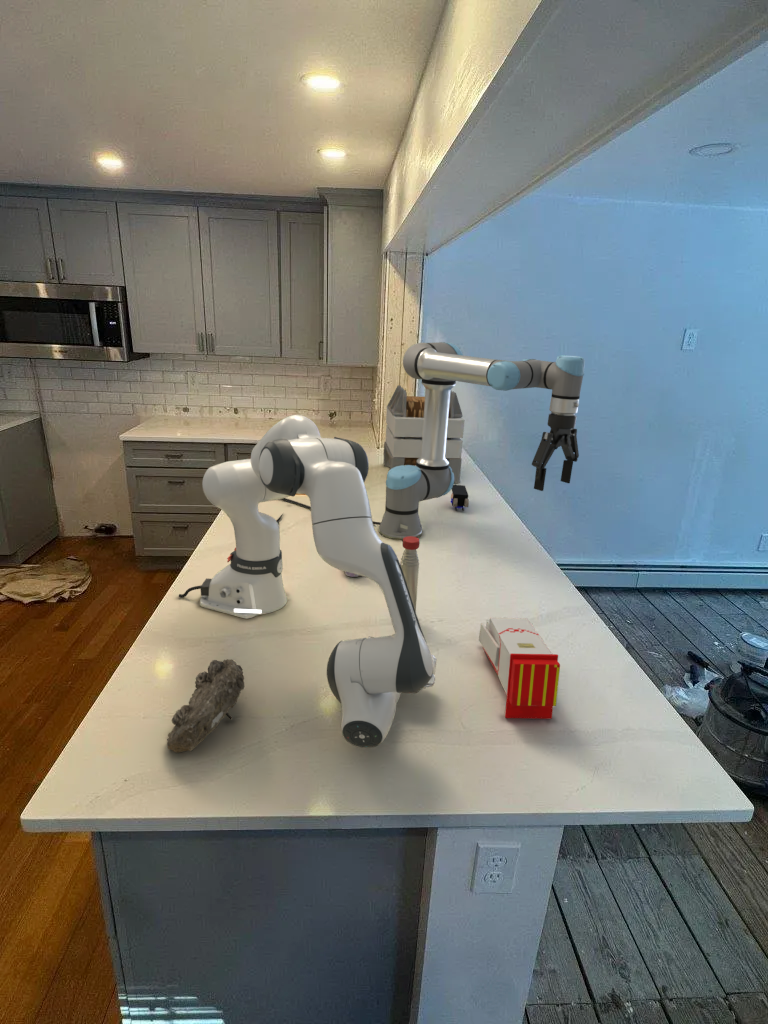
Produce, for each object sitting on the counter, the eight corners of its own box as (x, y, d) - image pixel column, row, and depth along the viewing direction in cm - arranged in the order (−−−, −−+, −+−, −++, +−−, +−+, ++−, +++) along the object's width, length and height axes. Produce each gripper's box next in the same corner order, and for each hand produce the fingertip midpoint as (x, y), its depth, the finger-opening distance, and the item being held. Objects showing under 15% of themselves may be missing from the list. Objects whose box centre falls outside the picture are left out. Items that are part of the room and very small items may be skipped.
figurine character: (468, 516, 224) (463, 500, 237) (471, 498, 221) (465, 483, 234) (452, 515, 224) (447, 499, 237) (453, 498, 220) (449, 482, 234)
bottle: (415, 626, 142) (421, 544, 134) (397, 626, 142) (402, 544, 134) (413, 617, 146) (419, 537, 139) (396, 617, 146) (400, 537, 138)
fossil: (192, 660, 117) (244, 628, 112) (224, 691, 120) (276, 661, 115) (142, 746, 98) (202, 712, 93) (182, 779, 101) (242, 748, 96)
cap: (419, 550, 135) (420, 542, 135) (403, 549, 135) (403, 542, 134) (417, 543, 139) (418, 536, 138) (401, 543, 139) (402, 536, 138)
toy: (525, 603, 136) (569, 660, 107) (520, 654, 139) (562, 725, 109) (475, 601, 135) (505, 659, 106) (471, 653, 138) (499, 724, 109)
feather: (290, 508, 223) (292, 504, 223) (272, 532, 197) (275, 527, 196) (286, 505, 223) (289, 501, 223) (268, 529, 197) (271, 525, 196)
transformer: (382, 463, 289) (386, 382, 275) (445, 464, 293) (451, 384, 279) (390, 482, 257) (394, 392, 243) (460, 483, 261) (468, 394, 247)
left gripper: (434, 675, 108) (441, 636, 121) (331, 659, 111) (348, 623, 124) (432, 702, 110) (439, 662, 123) (330, 686, 114) (348, 648, 126)
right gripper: (548, 419, 148) (537, 496, 155) (598, 411, 163) (586, 482, 171) (525, 414, 153) (515, 489, 160) (575, 407, 169) (564, 476, 176)
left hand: (393, 642), depth 124 cm, fingers open, 8 cm apart
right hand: (552, 485), depth 166 cm, fingers open, 13 cm apart
